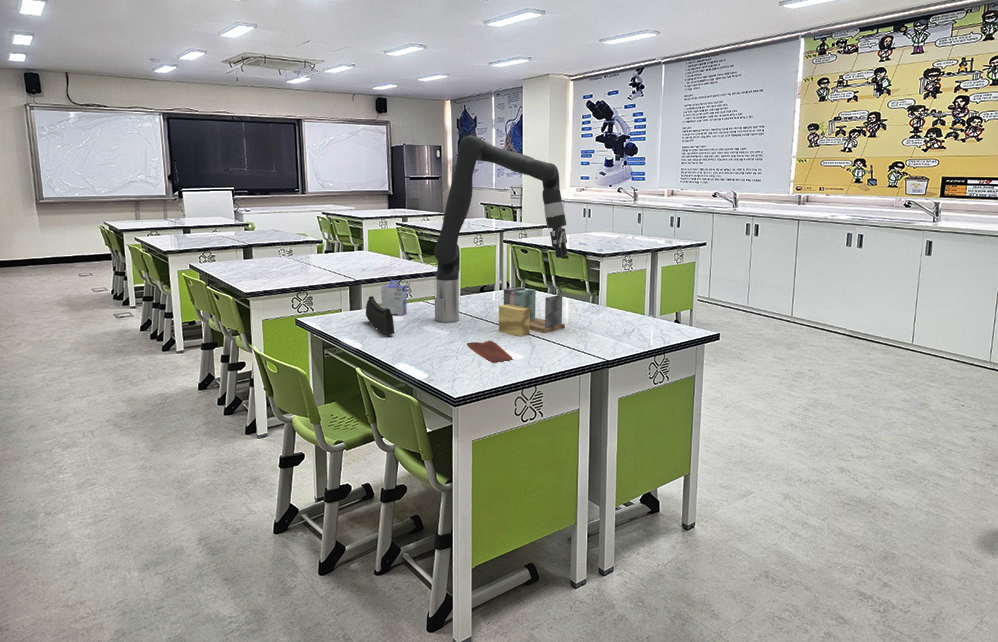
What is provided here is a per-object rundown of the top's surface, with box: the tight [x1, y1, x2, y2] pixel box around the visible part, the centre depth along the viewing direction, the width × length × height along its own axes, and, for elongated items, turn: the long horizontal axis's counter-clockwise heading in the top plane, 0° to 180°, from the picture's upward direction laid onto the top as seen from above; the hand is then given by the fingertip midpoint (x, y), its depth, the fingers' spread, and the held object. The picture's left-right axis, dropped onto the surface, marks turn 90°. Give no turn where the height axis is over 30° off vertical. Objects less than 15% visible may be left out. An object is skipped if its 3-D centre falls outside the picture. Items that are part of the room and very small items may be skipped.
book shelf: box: [503, 286, 566, 333], centre depth 275 cm, size 12×25×14 cm, turn 42°
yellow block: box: [498, 304, 531, 337], centre depth 263 cm, size 5×12×10 cm, turn 42°
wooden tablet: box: [466, 340, 514, 364], centre depth 236 cm, size 27×10×2 cm, turn 19°
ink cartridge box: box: [380, 279, 408, 316], centre depth 295 cm, size 10×6×14 cm, turn 80°
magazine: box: [365, 295, 395, 336], centre depth 267 cm, size 17×3×30 cm
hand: (561, 256), depth 267 cm, fingers open, 8 cm apart
